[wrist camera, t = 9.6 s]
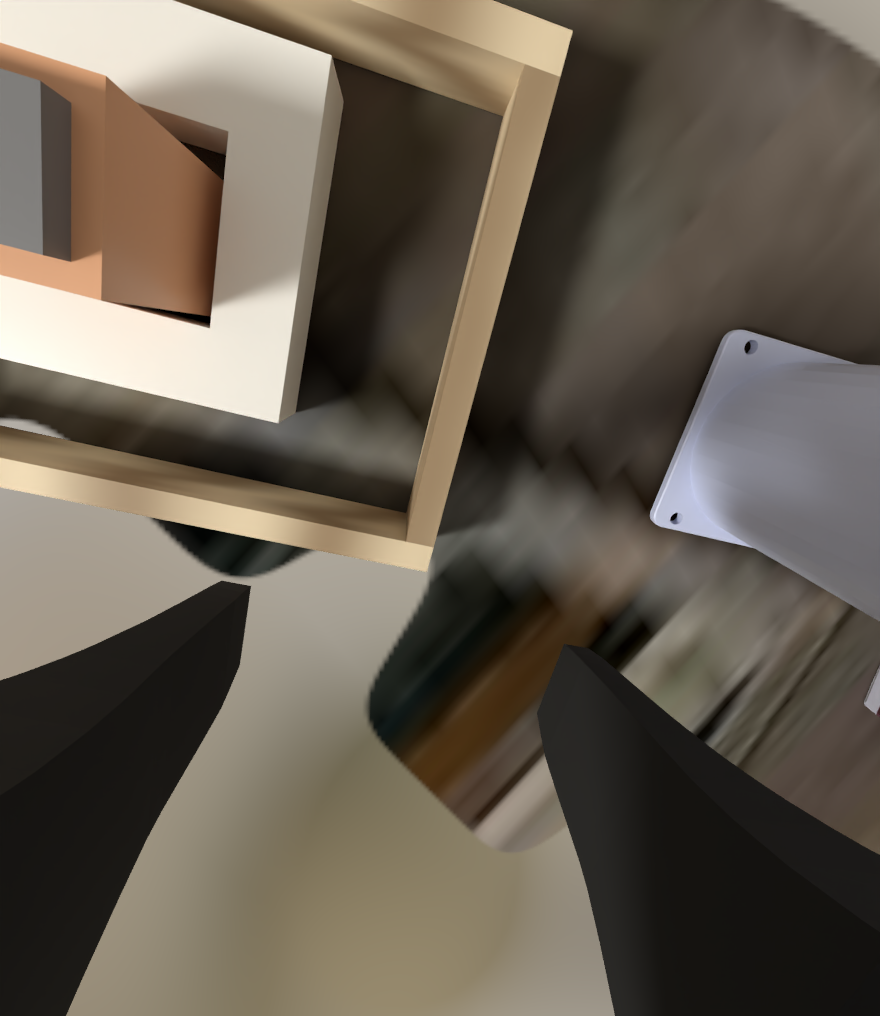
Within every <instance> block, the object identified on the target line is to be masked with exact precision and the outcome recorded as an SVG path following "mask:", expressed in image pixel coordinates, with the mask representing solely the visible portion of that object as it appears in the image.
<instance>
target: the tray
mask: <svg viewBox="0 0 880 1016" xmlns="http://www.w3.org/2000/svg"><path fill="white" fill-rule="evenodd" d="M572 32H573V31H572V30H569V29H567V28H564V27H562V26H559V25H556V24H554V23H551V22H548V21H546V20H543V19H541V18H538V17H535V16H533V15H530V14H528V13H525V12H522V11H520V10H517V9H514V8H512V7H509V6H507V5H504V4H501V3H499V2H496V1H493V0H0V43H3V44H7V45H10V46H13V47H16V48H19V49H22V50H26V51H29V52H32V53H35V54H38V55H42V56H45V57H48V58H51V59H54V60H58V61H61V62H64V63H67V64H70V65H73V66H77V67H80V68H83V69H86V70H89V71H93V72H96V73H99V74H102V75H105V76H107V77H108V78H109V79H110V80H111V81H112V82H113V83H115V84H116V85H117V86H118V87H119V88H120V89H121V90H122V91H124V92H125V93H126V94H127V95H128V96H129V97H130V98H131V99H132V100H134V101H135V102H136V103H137V104H138V105H139V106H140V107H141V108H143V109H144V110H145V111H146V112H147V113H148V114H149V115H150V116H151V117H153V118H154V119H155V120H156V121H157V122H158V123H159V124H160V125H162V126H163V127H164V128H165V129H166V130H167V131H168V132H169V133H171V134H172V135H173V136H174V137H175V138H176V139H177V140H178V141H181V142H185V143H188V144H191V145H194V146H198V147H201V148H204V149H207V150H211V151H214V152H217V153H220V154H224V155H226V163H225V174H224V184H223V195H222V205H221V216H220V227H219V237H218V248H217V259H216V269H215V280H214V291H213V301H212V312H211V323H210V324H209V323H206V322H202V321H198V320H194V319H190V318H186V317H182V316H178V315H175V314H171V313H167V312H163V311H159V310H155V309H151V308H147V307H144V306H137V305H130V304H123V303H116V302H110V301H103V300H98V299H94V298H90V297H86V296H82V295H78V294H74V293H70V292H66V291H62V290H58V289H55V288H51V287H47V286H43V285H39V284H35V283H31V282H27V281H23V280H19V279H15V278H11V277H7V276H3V275H0V358H1V359H6V360H10V361H14V362H19V363H23V364H27V365H31V366H36V367H40V368H44V369H48V370H53V371H57V372H61V373H66V374H70V375H74V376H78V377H83V378H87V379H91V380H95V381H100V382H104V383H108V384H113V385H117V386H121V387H125V388H130V389H134V390H138V391H142V392H147V393H151V394H155V395H160V396H164V397H168V398H172V399H177V400H181V401H185V402H189V403H194V404H198V405H202V406H207V407H211V408H215V409H219V410H224V411H228V412H232V413H237V414H241V415H245V416H249V417H254V418H258V419H262V420H266V421H271V422H275V423H280V422H281V421H283V420H285V419H286V418H288V417H290V416H291V415H293V414H295V413H296V406H297V400H298V393H299V387H300V380H301V374H302V368H303V361H304V355H305V348H306V342H307V335H308V329H309V322H310V316H311V310H312V303H313V297H314V290H315V284H316V277H317V271H318V265H319V258H320V252H321V245H322V239H323V232H324V226H325V219H326V213H327V207H328V200H329V194H330V187H331V181H332V174H333V168H334V161H335V155H336V149H337V142H338V136H339V129H340V123H341V116H342V110H343V103H344V100H343V97H342V93H341V89H340V85H339V81H338V78H337V74H336V70H335V66H334V62H333V59H332V57H333V58H336V59H339V60H342V61H345V62H348V63H351V64H353V65H356V66H359V67H362V68H365V69H368V70H371V71H374V72H376V73H379V74H382V75H385V76H388V77H391V78H394V79H397V80H400V81H402V82H405V83H408V84H411V85H414V86H417V87H420V88H423V89H426V90H428V91H431V92H434V93H437V94H440V95H443V96H446V97H449V98H452V99H454V100H457V101H460V102H463V103H466V104H469V105H472V106H475V107H478V108H480V109H483V110H486V111H489V112H492V113H495V114H498V115H501V116H503V120H502V124H501V128H500V132H499V136H498V140H497V144H496V148H495V152H494V156H493V160H492V165H491V169H490V173H489V177H488V181H487V185H486V189H485V193H484V197H483V201H482V206H481V210H480V214H479V218H478V222H477V226H476V230H475V234H474V238H473V242H472V246H471V251H470V255H469V259H468V263H467V267H466V271H465V275H464V279H463V283H462V287H461V292H460V296H459V300H458V304H457V308H456V312H455V316H454V320H453V324H452V328H451V332H450V337H449V341H448V345H447V349H446V353H445V357H444V361H443V365H442V369H441V373H440V378H439V382H438V386H437V390H436V394H435V398H434V402H433V406H432V410H431V414H430V418H429V423H428V427H427V431H426V435H425V439H424V443H423V447H422V451H421V455H420V459H419V464H418V468H417V472H416V476H415V480H414V484H413V488H412V492H411V496H410V500H409V504H408V509H407V513H403V512H399V511H394V510H389V509H385V508H380V507H375V506H371V505H366V504H362V503H357V502H352V501H348V500H343V499H338V498H334V497H329V496H324V495H320V494H315V493H311V492H306V491H301V490H297V489H292V488H287V487H283V486H278V485H273V484H269V483H264V482H260V481H255V480H250V479H246V478H241V477H236V476H232V475H227V474H222V473H218V472H213V471H209V470H204V469H199V468H195V467H190V466H185V465H181V464H176V463H171V462H167V461H162V460H158V459H153V458H148V457H144V456H139V455H134V454H130V453H125V452H120V451H116V450H111V449H107V448H102V447H97V446H93V445H88V444H83V443H79V442H74V441H69V440H65V439H60V438H56V437H51V436H46V435H42V434H37V433H32V432H28V431H23V430H18V429H14V428H9V427H5V426H0V487H2V488H7V489H12V490H17V491H23V492H27V493H32V494H37V495H42V496H47V497H53V498H57V499H62V500H67V501H72V502H78V503H82V504H88V505H92V506H97V507H102V508H107V509H113V510H117V511H123V512H127V513H133V514H137V515H142V516H147V517H153V518H158V519H163V520H168V521H173V522H178V523H183V524H188V525H193V526H198V527H203V528H208V529H213V530H218V531H223V532H228V533H233V534H238V535H243V536H248V537H253V538H258V539H263V540H268V541H273V542H278V543H283V544H288V545H293V546H298V547H303V548H308V549H313V550H318V551H323V552H328V553H333V554H339V555H344V556H348V557H354V558H359V559H363V560H369V561H374V562H379V563H384V564H389V565H394V566H399V567H404V568H409V569H414V570H419V571H424V572H427V570H428V566H429V562H430V558H431V555H432V551H433V547H434V544H435V540H436V536H437V532H438V529H439V525H440V521H441V518H442V514H443V510H444V507H445V503H446V499H447V495H448V492H449V488H450V484H451V481H452V477H453V473H454V469H455V466H456V462H457V458H458V455H459V451H460V447H461V444H462V440H463V436H464V432H465V429H466V425H467V421H468V418H469V414H470V410H471V406H472V403H473V399H474V395H475V392H476V388H477V384H478V380H479V377H480V373H481V369H482V366H483V362H484V358H485V355H486V351H487V347H488V343H489V340H490V336H491V332H492V329H493V325H494V321H495V317H496V314H497V310H498V306H499V303H500V299H501V295H502V291H503V288H504V284H505V280H506V277H507V273H508V269H509V266H510V262H511V258H512V254H513V251H514V247H515V243H516V240H517V236H518V232H519V228H520V225H521V221H522V217H523V214H524V210H525V206H526V203H527V199H528V195H529V191H530V188H531V184H532V180H533V177H534V173H535V169H536V165H537V162H538V158H539V154H540V151H541V147H542V143H543V139H544V136H545V132H546V128H547V125H548V121H549V117H550V114H551V110H552V106H553V102H554V99H555V95H556V91H557V88H558V84H559V80H560V76H561V73H562V69H563V65H564V62H565V58H566V54H567V51H568V47H569V43H570V39H571V36H572Z"/></svg>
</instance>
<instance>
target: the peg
mask: <svg viewBox="0 0 880 1016" xmlns="http://www.w3.org/2000/svg"><path fill="white" fill-rule="evenodd" d="M223 184H224V181H223V180H222V179H221V178H220V177H219V176H217V175H216V174H215V173H214V172H213V171H212V170H211V169H210V168H209V167H207V166H206V165H205V164H204V163H203V162H202V161H201V160H200V159H198V158H197V157H196V156H195V155H194V154H193V153H192V152H191V151H190V150H188V149H187V148H186V147H185V146H184V145H183V144H182V143H181V142H179V141H178V140H177V139H176V138H175V137H174V136H173V135H172V134H171V133H169V132H168V131H167V130H166V129H165V128H164V127H163V126H162V125H160V124H159V123H158V122H157V121H156V120H155V119H154V118H153V117H151V116H150V115H149V114H148V113H147V112H146V111H145V110H144V109H143V108H141V107H140V106H139V105H138V104H137V103H136V102H135V101H134V100H132V99H131V98H130V97H129V96H128V95H127V94H126V93H125V92H124V91H122V90H121V89H120V88H119V87H118V86H117V85H116V84H115V83H113V82H112V81H111V80H110V79H109V78H108V77H107V76H105V75H102V74H99V73H96V72H93V71H89V70H86V69H83V68H80V67H77V66H73V65H70V64H67V63H64V62H61V61H58V60H54V59H51V58H48V57H45V56H42V55H38V54H35V53H32V52H29V51H26V50H22V49H19V48H16V47H13V46H10V45H7V44H3V43H0V275H3V276H7V277H11V278H15V279H19V280H23V281H27V282H31V283H35V284H39V285H43V286H47V287H51V288H55V289H58V290H62V291H66V292H70V293H74V294H78V295H82V296H86V297H90V298H94V299H98V300H103V301H110V302H116V303H123V304H130V305H137V306H144V307H150V308H157V309H164V310H171V311H177V312H184V313H191V314H198V315H204V316H211V312H212V301H213V291H214V280H215V269H216V259H217V248H218V237H219V227H220V216H221V205H222V195H223Z"/></svg>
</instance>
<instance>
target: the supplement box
mask: <svg viewBox="0 0 880 1016" xmlns="http://www.w3.org/2000/svg"><path fill="white" fill-rule="evenodd" d="M864 704H865V706H867V707H868V708H869V709H870V710H871V711H873V712H874V713H875V714H876V715H878V716H879V717H880V666H879V668H878V670H877V673H876V675H875V677H874V679H873V682H872V683H871V686H870V689H869V691H868V694H867V696H866V698H865V701H864Z"/></svg>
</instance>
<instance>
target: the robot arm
mask: <svg viewBox="0 0 880 1016" xmlns="http://www.w3.org/2000/svg"><path fill="white" fill-rule="evenodd" d="M748 341H749V342H750V344H751V347H750V350H749V351H748V353H745V351H744V347H745V344H746V343H747V342H748ZM675 513H678V514H677V518H676V519H675V520H673V521H670V519H671V516H672V515H673V514H675ZM650 518H651V520H652V521H653V522H654V523H655V524H656V525H658V526H660V527H665V528H669V529H673V530H678V531H682V532H686V533H691V534H695V535H699V536H704V537H708V538H713V539H717V540H721V541H726V542H730V543H734V544H739V545H743V546H747V547H752V548H755V549H757V550H759V551H760V552H762V553H764V554H765V555H767V556H769V557H770V558H772V559H774V560H776V561H777V562H779V563H781V564H782V565H784V566H786V567H788V568H789V569H791V570H793V571H794V572H796V573H798V574H800V575H801V576H803V577H805V578H806V579H808V580H810V581H811V582H813V583H815V584H817V585H818V586H820V587H822V588H823V589H825V590H827V591H829V592H830V593H832V594H834V595H835V596H837V597H839V598H841V599H842V600H844V601H846V602H847V603H849V604H851V605H852V606H854V607H856V608H858V609H859V610H861V611H863V612H864V613H866V614H868V615H870V616H871V617H873V618H875V619H876V620H878V621H880V365H860V364H856V363H852V362H849V361H846V360H842V359H839V358H836V357H832V356H829V355H826V354H823V353H819V352H816V351H813V350H809V349H806V348H803V347H799V346H796V345H793V344H789V343H786V342H783V341H780V340H776V339H773V338H770V337H766V336H763V335H760V334H756V333H753V332H750V331H747V330H732V331H730V332H728V333H727V334H726V335H725V336H724V337H723V339H722V341H721V343H720V345H719V348H718V350H717V353H716V355H715V357H714V360H713V362H712V365H711V367H710V370H709V372H708V374H707V377H706V379H705V382H704V384H703V386H702V389H701V391H700V394H699V396H698V398H697V401H696V403H695V406H694V408H693V410H692V413H691V415H690V418H689V420H688V422H687V425H686V427H685V430H684V432H683V435H682V437H681V439H680V442H679V444H678V447H677V449H676V451H675V454H674V456H673V459H672V461H671V463H670V466H669V468H668V471H667V473H666V475H665V478H664V480H663V483H662V485H661V487H660V490H659V492H658V495H657V497H656V500H655V502H654V504H653V507H652V509H651V512H650ZM250 589H251V586H247V585H242V584H236V583H231V582H226V581H220V582H218V583H216V584H214V585H212V586H210V587H208V588H207V589H205V590H203V591H201V592H199V593H198V594H196V595H194V596H192V597H190V598H188V599H186V600H185V601H183V602H181V603H179V604H177V605H175V606H173V607H171V608H170V609H168V610H166V611H164V612H162V613H160V614H158V615H156V616H154V617H152V618H150V619H148V620H146V621H144V622H143V623H140V624H138V625H136V626H134V627H132V628H130V629H127V630H125V631H123V632H121V633H119V634H117V635H115V636H112V637H110V638H108V639H106V640H104V641H102V642H100V643H98V644H95V645H93V646H91V647H88V648H86V649H84V650H81V651H79V652H76V653H74V654H71V655H69V656H67V657H64V658H62V659H59V660H56V661H54V662H51V663H48V664H46V665H43V666H40V667H38V668H35V669H33V670H30V671H27V672H24V673H21V674H18V675H16V676H13V677H10V678H7V679H3V680H1V681H0V1016H66V1014H67V1012H68V1010H69V1007H70V1005H71V1003H72V1001H73V998H74V996H75V994H76V992H77V989H78V987H79V985H80V982H81V980H82V978H83V976H84V973H85V971H86V969H87V967H88V964H89V962H90V960H91V958H92V956H93V954H94V952H95V949H96V947H97V945H98V943H99V941H100V938H101V936H102V934H103V932H104V930H105V927H106V925H107V923H108V921H109V919H110V916H111V914H112V912H113V910H114V908H115V905H116V903H117V901H118V899H119V897H120V895H121V892H122V890H123V888H124V886H125V884H126V882H127V880H128V878H129V875H130V873H131V871H132V869H133V867H134V865H135V863H136V861H137V858H138V856H139V854H140V852H141V850H142V848H143V846H144V844H145V841H146V839H147V837H148V836H149V834H150V832H151V830H152V828H153V826H154V824H155V823H156V821H157V819H158V817H159V815H160V813H161V811H162V810H163V808H164V806H165V804H166V803H167V801H168V799H169V798H170V796H171V794H172V792H173V791H174V789H175V787H176V786H177V784H178V782H179V780H180V779H181V777H182V775H183V774H184V772H185V770H186V768H187V767H188V765H189V763H190V761H191V760H192V758H193V756H194V755H195V753H196V751H197V749H198V748H199V746H200V744H201V742H202V741H203V739H204V737H205V735H206V734H207V732H208V730H209V728H210V727H211V725H212V723H213V722H214V720H215V718H216V716H217V714H218V713H219V711H220V709H221V707H222V705H223V703H224V700H225V698H226V696H227V694H228V692H229V689H230V687H231V684H232V682H233V680H234V677H235V675H236V673H237V670H238V668H239V665H240V659H241V652H242V644H243V638H244V631H245V624H246V617H247V610H248V603H249V595H250ZM537 715H538V721H539V726H540V732H541V738H542V743H543V748H544V753H545V757H546V760H547V764H548V767H549V770H550V773H551V776H552V779H553V782H554V786H555V789H556V792H557V795H558V798H559V801H560V804H561V807H562V810H563V813H564V816H565V819H566V822H567V825H568V828H569V831H570V834H571V837H572V840H573V843H574V846H575V849H576V852H577V855H578V858H579V861H580V865H581V868H582V872H583V875H584V879H585V882H586V886H587V890H588V893H589V898H590V902H591V907H592V911H593V915H594V920H595V924H596V928H597V932H598V936H599V941H600V946H601V950H602V955H603V960H604V965H605V969H606V974H607V979H608V984H609V989H610V994H611V998H612V1003H613V1008H614V1013H615V1016H880V855H879V854H877V853H875V852H873V851H871V850H869V849H867V848H866V847H864V846H862V845H860V844H859V843H857V842H855V841H853V840H852V839H850V838H848V837H846V836H845V835H843V834H841V833H839V832H838V831H836V830H834V829H833V828H831V827H829V826H828V825H826V824H824V823H823V822H821V821H819V820H818V819H816V818H814V817H813V816H811V815H810V814H808V813H806V812H805V811H803V810H801V809H800V808H798V807H797V806H795V805H793V804H792V803H790V802H788V801H787V800H785V799H784V798H782V797H781V796H779V795H778V794H776V793H775V792H773V791H771V790H770V789H768V788H767V787H765V786H764V785H762V784H761V783H760V782H758V781H757V780H755V779H754V778H752V777H751V776H749V775H748V774H747V773H745V772H744V771H742V770H741V769H739V768H738V767H737V766H735V765H734V764H732V763H731V762H729V761H728V760H727V759H725V758H724V757H723V756H721V755H720V754H718V753H717V752H716V751H714V750H713V749H712V748H710V747H709V746H708V745H707V744H705V743H704V742H703V741H701V740H700V739H699V738H698V737H696V736H695V735H694V734H692V733H691V732H690V731H689V730H687V729H686V728H685V727H684V726H682V725H681V724H680V723H679V722H677V721H676V720H675V719H674V718H672V717H671V716H670V715H669V714H668V713H666V712H665V711H664V710H663V709H662V708H660V707H659V706H658V705H657V704H656V703H654V702H653V701H652V700H651V699H650V698H649V697H647V696H646V695H645V694H644V693H643V692H642V691H640V690H639V689H638V688H637V687H636V686H634V685H633V684H632V683H631V682H630V681H629V680H627V679H626V678H625V677H624V676H623V675H622V674H620V673H619V672H618V671H617V670H616V669H614V668H613V667H612V666H611V665H610V664H608V663H607V662H606V661H605V660H603V659H602V658H601V657H600V656H598V655H597V654H596V653H594V652H593V651H591V650H590V649H588V648H583V647H577V646H572V645H566V644H564V646H563V649H562V651H561V654H560V656H559V659H558V661H557V664H556V666H555V669H554V672H553V674H552V677H551V679H550V682H549V684H548V687H547V689H546V692H545V695H544V697H543V700H542V702H541V705H540V707H539V710H538V712H537Z"/></svg>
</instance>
